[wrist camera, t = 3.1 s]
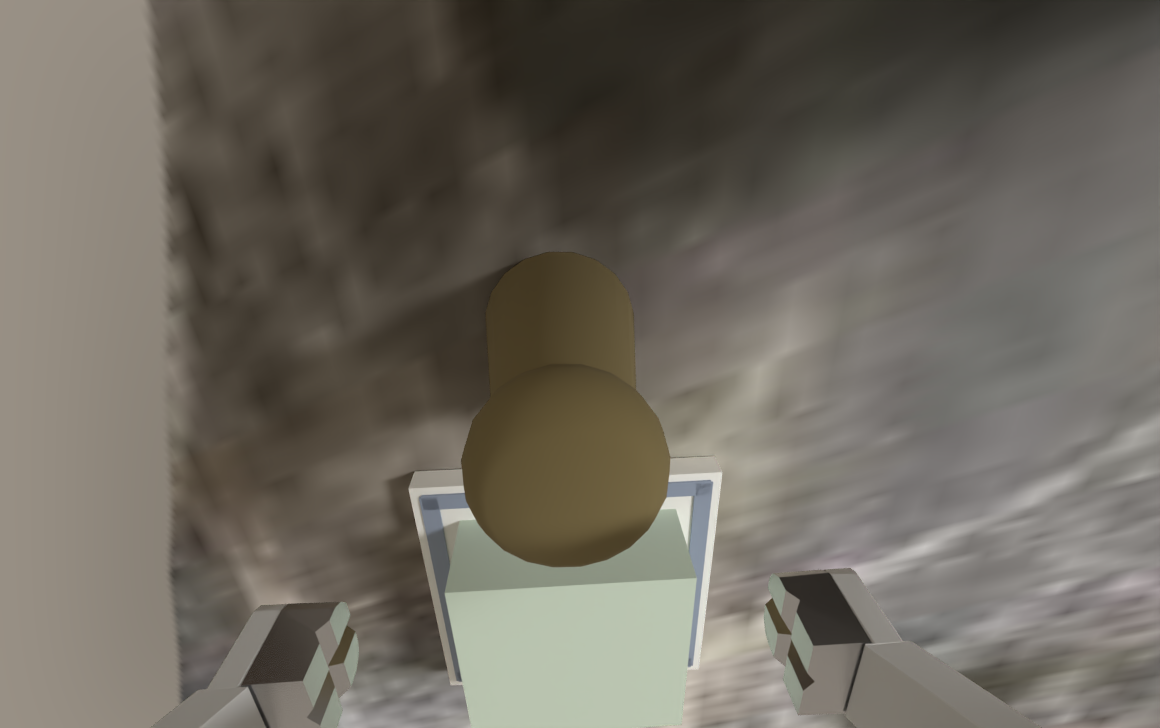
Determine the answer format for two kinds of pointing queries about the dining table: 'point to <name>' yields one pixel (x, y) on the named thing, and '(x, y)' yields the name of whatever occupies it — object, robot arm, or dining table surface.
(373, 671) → the dining table surface
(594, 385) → the cork
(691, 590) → the butter dish
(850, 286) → the dining table surface
